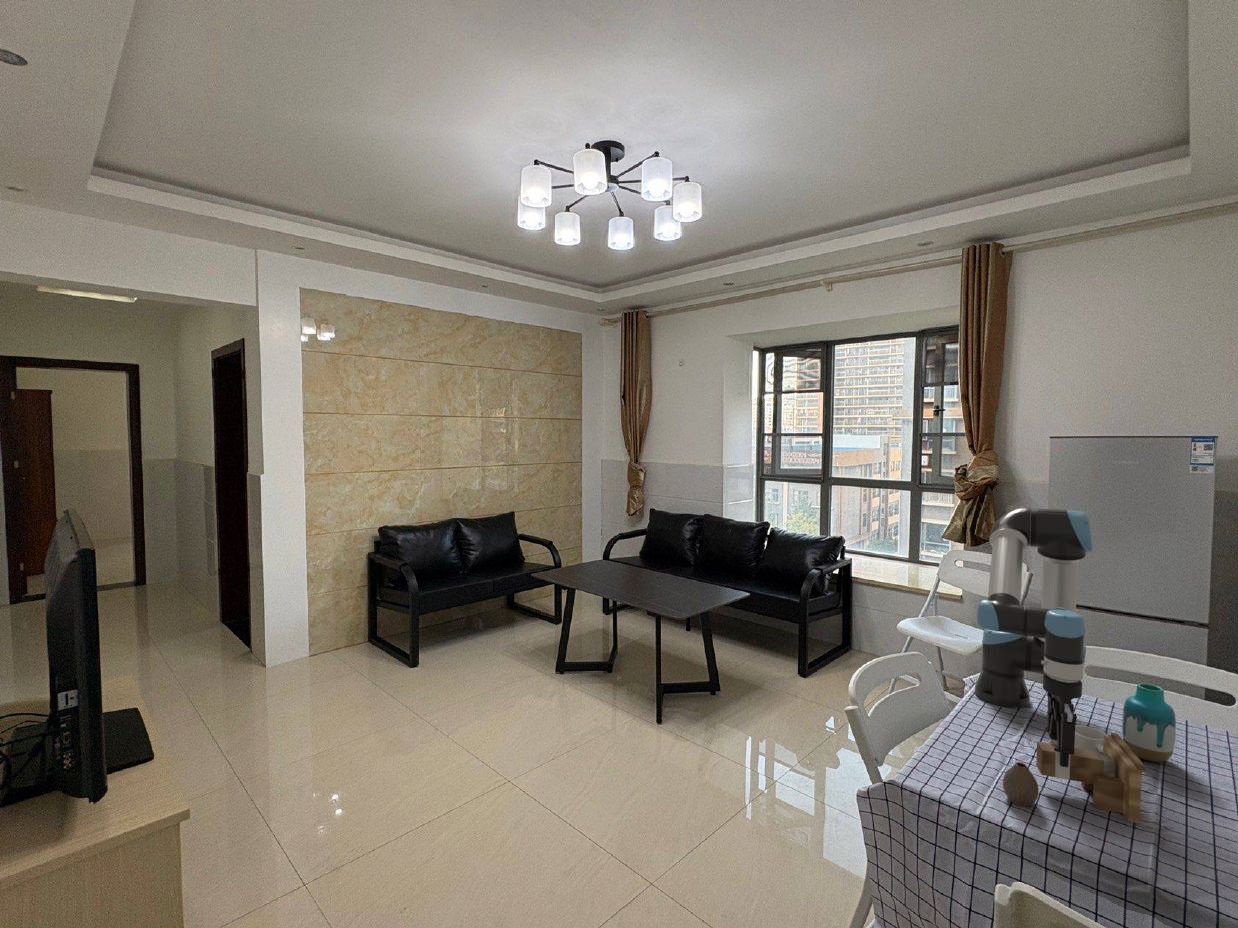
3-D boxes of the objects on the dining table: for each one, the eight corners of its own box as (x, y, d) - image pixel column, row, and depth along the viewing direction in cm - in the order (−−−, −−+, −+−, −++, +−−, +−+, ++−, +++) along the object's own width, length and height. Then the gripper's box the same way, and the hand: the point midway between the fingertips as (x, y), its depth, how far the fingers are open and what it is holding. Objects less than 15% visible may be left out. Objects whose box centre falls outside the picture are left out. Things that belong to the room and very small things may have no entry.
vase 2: (1169, 754, 161) (1172, 684, 161) (1178, 773, 153) (1181, 699, 152) (1118, 743, 167) (1121, 675, 166) (1123, 760, 158) (1127, 689, 158)
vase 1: (1011, 808, 138) (1012, 771, 137) (996, 791, 144) (998, 755, 144) (1044, 811, 137) (1045, 774, 136) (1028, 793, 143) (1029, 757, 143)
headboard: (1077, 778, 150) (1079, 727, 149) (1114, 785, 147) (1117, 733, 147) (1100, 815, 135) (1103, 759, 135) (1143, 824, 132) (1145, 766, 132)
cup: (1121, 778, 150) (1123, 746, 150) (1085, 774, 152) (1086, 743, 151) (1096, 755, 161) (1098, 726, 160) (1063, 752, 162) (1064, 723, 162)
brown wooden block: (1041, 774, 144) (1042, 750, 144) (1036, 764, 148) (1037, 741, 148) (1113, 787, 139) (1114, 762, 138) (1106, 777, 143) (1107, 752, 143)
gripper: (1034, 661, 153) (1030, 751, 154) (1054, 688, 137) (1050, 788, 138) (1069, 666, 150) (1065, 757, 151) (1094, 693, 134) (1090, 795, 135)
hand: (1058, 771), depth 145 cm, fingers closed on brown wooden block, 4 cm apart
